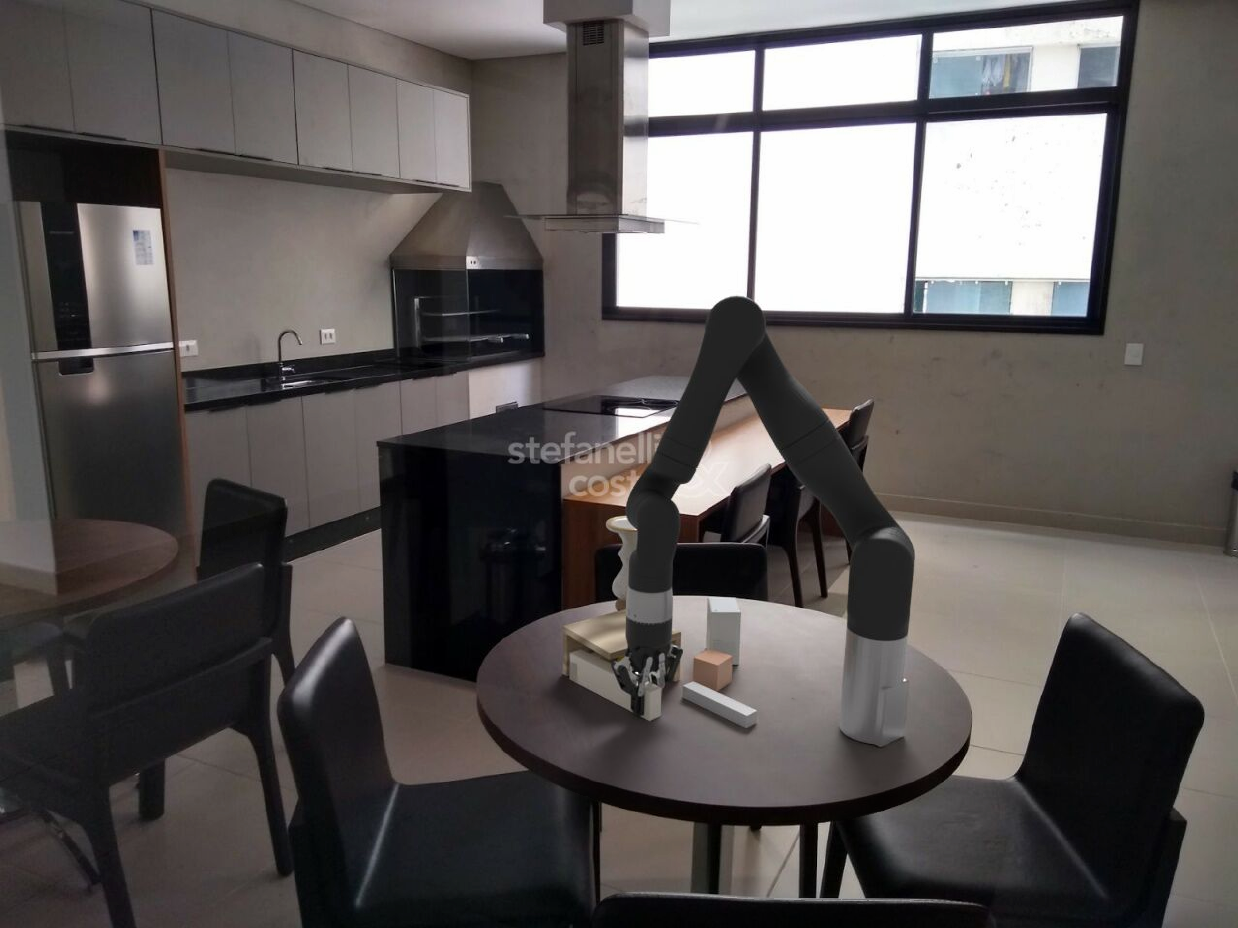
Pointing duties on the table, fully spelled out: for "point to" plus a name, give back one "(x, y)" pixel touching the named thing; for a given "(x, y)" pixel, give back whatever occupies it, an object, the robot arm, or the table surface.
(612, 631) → the cubby
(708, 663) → the terracotta block
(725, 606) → the small box
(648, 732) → the table surface
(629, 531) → the candle holder
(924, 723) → the table surface
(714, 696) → the grey stick
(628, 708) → the white bar
